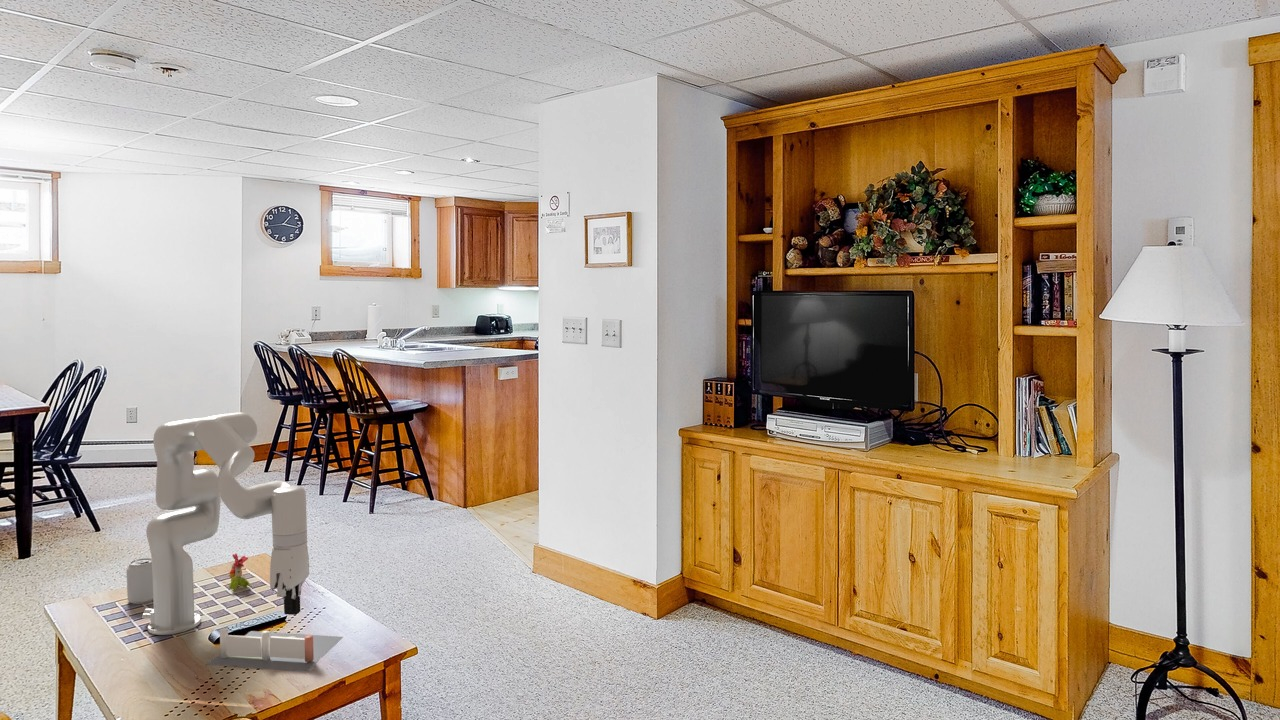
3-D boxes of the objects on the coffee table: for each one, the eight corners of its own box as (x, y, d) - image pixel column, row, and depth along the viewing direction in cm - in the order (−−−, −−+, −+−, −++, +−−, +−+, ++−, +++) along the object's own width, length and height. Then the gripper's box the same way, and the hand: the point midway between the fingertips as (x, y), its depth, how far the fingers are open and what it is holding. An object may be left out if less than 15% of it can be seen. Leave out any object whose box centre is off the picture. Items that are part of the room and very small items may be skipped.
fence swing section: (268, 659, 194) (268, 636, 194) (273, 655, 196) (272, 632, 196) (311, 662, 193) (310, 638, 193) (315, 658, 195) (314, 635, 195)
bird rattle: (223, 594, 242) (231, 590, 236) (217, 558, 244) (226, 554, 238) (244, 589, 246) (253, 585, 240) (239, 554, 248) (248, 549, 242)
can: (147, 605, 227) (145, 565, 226) (121, 604, 228) (120, 564, 226) (163, 595, 235) (161, 556, 234) (138, 594, 235) (137, 556, 234)
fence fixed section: (218, 657, 195) (218, 630, 195) (223, 654, 197) (222, 627, 197) (267, 661, 194) (266, 634, 194) (271, 657, 196) (270, 630, 195)
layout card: (205, 666, 192) (205, 664, 192) (251, 633, 211) (250, 630, 211) (306, 673, 190) (306, 670, 190) (343, 639, 208) (343, 636, 208)
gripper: (291, 528, 194) (294, 600, 195) (256, 548, 179) (259, 625, 180) (320, 529, 193) (322, 601, 194) (288, 549, 178) (290, 627, 180)
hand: (292, 613), depth 187 cm, fingers closed
